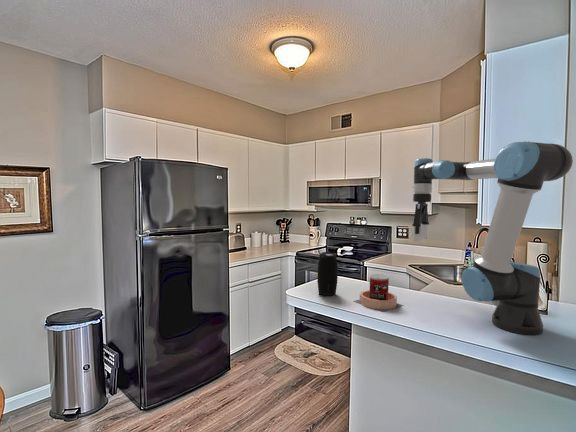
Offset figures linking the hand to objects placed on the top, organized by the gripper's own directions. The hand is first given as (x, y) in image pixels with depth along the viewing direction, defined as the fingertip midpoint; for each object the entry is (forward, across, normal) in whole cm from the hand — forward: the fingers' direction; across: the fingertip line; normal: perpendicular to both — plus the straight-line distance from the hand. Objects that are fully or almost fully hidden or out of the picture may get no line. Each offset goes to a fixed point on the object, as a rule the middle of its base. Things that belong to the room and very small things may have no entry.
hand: (420, 239), depth 149 cm
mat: (+27, +21, -12) cm, 36 cm away
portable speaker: (+27, +22, -36) cm, 50 cm away
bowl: (+26, +21, -12) cm, 36 cm away
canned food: (+26, +21, -12) cm, 35 cm away
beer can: (+27, -12, +32) cm, 43 cm away
